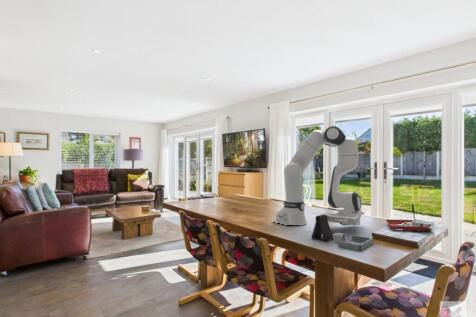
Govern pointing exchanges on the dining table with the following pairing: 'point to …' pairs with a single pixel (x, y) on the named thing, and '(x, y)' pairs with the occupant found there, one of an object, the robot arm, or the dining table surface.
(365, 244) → the tray
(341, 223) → the robot arm
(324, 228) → the black a-shaped stand
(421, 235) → the dining table surface
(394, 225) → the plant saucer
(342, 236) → the grey cube
